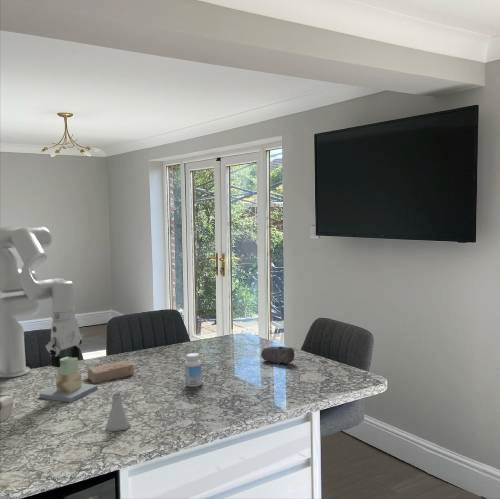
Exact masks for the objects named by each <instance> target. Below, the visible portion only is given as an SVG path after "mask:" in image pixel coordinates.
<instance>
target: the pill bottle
mask: <svg viewBox="0 0 500 499" xmlns="http://www.w3.org/2000/svg"><path fill="white" fill-rule="evenodd" d="M185 356H186V358H185V359H186V360H185V361H184V377H185V385H186V386H187V387H190V388H195V387H196V388H197V387H199V386H201V385H202V384H203V371H202V368H203V367H202V362H201V360H200V354H199V353H197V352H194V353H193V352H192V353H187V354H186V355H185Z"/></svg>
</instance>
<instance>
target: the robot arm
mask: <svg viewBox="0 0 500 499" xmlns="http://www.w3.org/2000/svg"><path fill="white" fill-rule="evenodd" d="M52 241H53V238H52V234H51V232H50V230H49V229H48V228H46V227H45V226H35V225H25V226H24V225H21V226H0V293H1V294H11V293H12V294H13V293H19V292H23V294H16V295H9V296H3V297H0V378H4V379H5V378H16V377H21V376H23V375H24V376H25V375H27V374H28V373H30V372H31V368H30V367H29V366H26V350H25V348H26V347H25V346H26V345H25V332H24V327H23V326H22V325H21V324H20V323H19V321H18V320H19V319H24V318H29V317H34V316H36V315H37V314H38V313H39V312H40V305H41V304H40V302H45V301H51V305H52V306H51V308H52V310H51V311H52V316H51V319H52V321H51V327H50V341H49V342H48V343H47V344H46V345H45V348H46V351H47V353H48V354H49V356H50V357H51V367H54V368H57V367H60V359H61V356H60V353H61V351H63V350H68V349H70V348H71V349H70V351H71V353H70V354H71V356H70V357H74V358H78V361H79V360H80V349H81V345H82V343H83V341H82V340H83V337H84V334H82V333H80V327H79V326H80V325H79V322H78V318H77V317H76V308H75V306H76V305H75V304H76V303H75V302H76V301H75V284H74V282H73V281H71V280H65V279H64V278H60V277H57V278H56V277H55V278H45V279H38V276H37V273H36V270H39V269H40V268H41V267H43V266H44V265H45V264H46V263H47V260H48V255H47V253H46V252H45V250H44V249H46V248H49V247H50V246H51V245H52ZM13 248H14V249H15V250H16V252H17V253H18V255H19V256H20V259H21V261H22V263H23V266H22V267H19V266H18V258H17V256H16V254H15V253H14V251H12V249H13Z"/></svg>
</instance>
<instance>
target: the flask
mask: <svg viewBox="0 0 500 499" xmlns="http://www.w3.org/2000/svg"><path fill="white" fill-rule="evenodd" d="M110 396H111V398H112V404H111V409H110V412H109V416H108V420H107V422H106V426H105V429H106V431H109V432H120V431H126V430H127V429H129V428H130V427H131V422H130V421H129V418H128V416H127V414H126V411H125V408H124V406H123V402H122V401H123V400H122V397H123V393H122V392H115V393H112V394H111V395H110Z"/></svg>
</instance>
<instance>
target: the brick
mask: <svg viewBox="0 0 500 499" xmlns="http://www.w3.org/2000/svg"><path fill="white" fill-rule="evenodd" d="M134 373H135V367H134V363H133V362H131V361H128V360H120V361H116V362H113V363H108V364H107V363H106V364H102V365H96V366H92V367H89V368H88V370H87V379H88V380H89V381H90V382H92V383H100V382H104V381H109V380H110V381H111V380H115V379H118V378H119V379H121V378H124V377H129V376H132V375H133V374H134Z"/></svg>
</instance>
